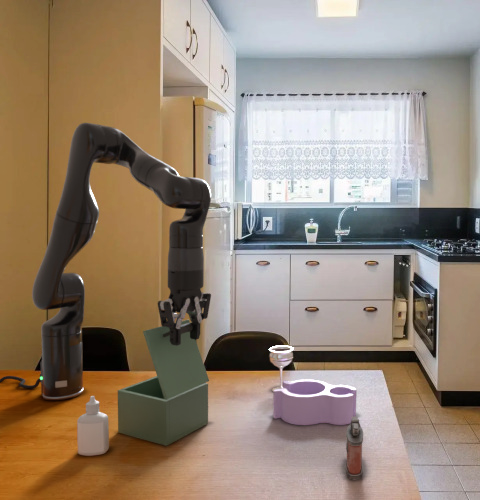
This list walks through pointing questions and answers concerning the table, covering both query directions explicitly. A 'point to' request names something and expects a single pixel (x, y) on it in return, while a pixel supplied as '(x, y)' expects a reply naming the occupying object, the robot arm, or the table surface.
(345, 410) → the clip
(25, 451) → the table surface
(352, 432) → the lighter
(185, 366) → the lid
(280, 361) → the wineglass
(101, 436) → the eye dropper bottle
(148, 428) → the chest
